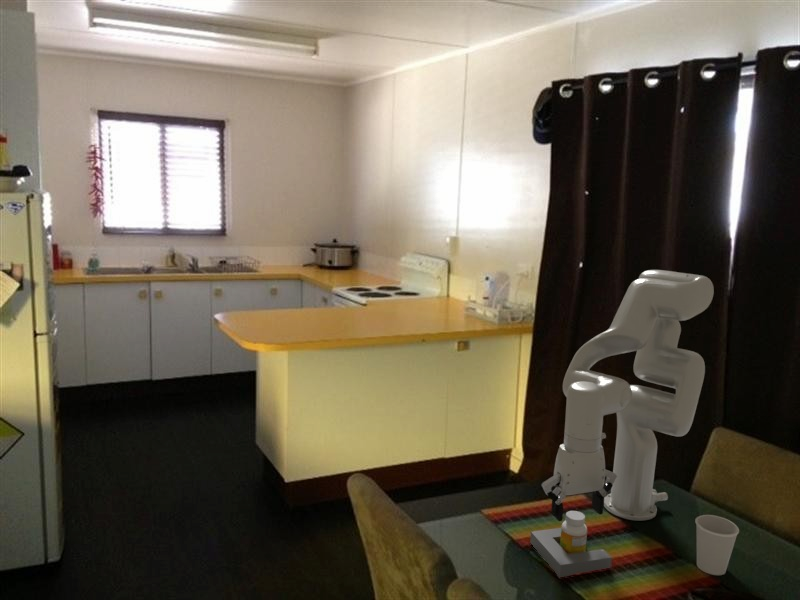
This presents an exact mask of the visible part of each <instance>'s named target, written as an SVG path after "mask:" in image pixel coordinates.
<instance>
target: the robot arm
mask: <svg viewBox="0 0 800 600" xmlns="http://www.w3.org/2000/svg"><path fill="white" fill-rule="evenodd" d="M714 289H715V288H714V284H713V282H712V281H711V279H710V278H708V277H707V276H705V275H702V274H700V275H699V274H693V273H686V272H677V271H674V270H673V271H672V270H663V269H648V270H644V271H643V272H641V273H640V274H639V276H638V278H637V279H635V280H633V281H632V282H631V283H630V285H629V286H628V288H627V290H626V292H625V294H624V296H623V298H622V301H621V303H620V305H619V306H618V308H617V311H616V313H615V315H614V316H613V320H612V322H611V324H610V325H609V328H608V329H607V330H605V331H603V332H601V333H599V334H597V335H595V336H594V337H593V338H591V339H589V340H587V341H586V342H585V343H584V344H583V345H582V346H581V347H579V349H578V350H577V351H576V352H575V354H574V356H573V357H572V360H571V361H570V363H569V366H568V368H567V370H566V372H565V375H564V378H563V382H562V392H563V395H564V396H565V397H566V401H565V402H566V405H565V418H564V420H565V422H564V437H563V443H561V444H560V445H559V448H558V449H557V454H556V458H555V462H554V468H553V476H551V477H549V478H548V479H546V480H545V481H542V483H541V487H542V489H543V491H544V493H545V495H547V497H548V498H549V499H551V509H550V511H551V514H552V516H553V518H555V519H556V520H557V521H558V522H562V521H563V518H564V515H563V513H564V504H563V503H562V502H563V500H565V498H566V497H567V496H572V495H578V494H586V493H591V492H592V498H591V499H592V500H591V508H592V509H593V510H594V511H595V512H596V513H598V515H602V514H603V513H604V512H603V511H604V508H605V509H606V511H608V512H609V513H611V514H612V515H614V516H616V517H619V518H621V519H625V520H630V521H635V522H637V521H638V522H639V521H640V522H641V521H649V520H652V519H653V518H655V517H656V515H657V511H658V508H657V506H656V505H655V504H656V503H657V502H662V501H668V499H669V495H668V493H667V492H664V491H663V492H657V490H656V489H655V488H653V487H654V480H655V470H656V463H657V454H658V441H657V438H656V435H655V433H654V431H655V432H659V433H662V434H665V435H668V436H674V437H683V436H686V435H687V434H688V432H689V431H690V429H691V427H692V426H693V425H692V424H693V422H694V418H695V414H696V410H697V408H698V407H697V406H698V404H699V398H700V395H701V391H702V387H703V383H704V379H705V374H706V365H705V361H704V357H702V356H701V354H699V352H695V351H692V350H688V349H683V348H678V344H679V340H680V335H681V332H682V327H681V323H680V322H682V321H687V320H690V319H692V318H694V317H696V316H698V315H700V314H701V313H703V312H704V311H705V310H707V309H708V308H709V307H710V304H711V303H712V301H713V297H714V294H715V292H714ZM631 352H636V354H635V358H634V361H633V373H634V375H635V377H637V378H638V379H640V380H642V381H645V382H648V383H651V384H656V385H660V386H663V387H668V388H671V389H674V390H675V393H671V392H668V391H663V390H661V389H656V388H653V387H649V386H643V385H639V384H630V383H629V382H628V381H626V380H625V379H622V378H620V377H619V376H614V375H609V374H605V373H602V372H599V371H598V372H597V371H595V370H590V369H591V368H592V367H593V366H594V365H595V364H596V363H597V362H599V361H601V360H603V359H606V358H608V357H611V356H617V355H621V354H626V353H631ZM612 414H616V440H615V450H614V459H613V468H612V471H610V470H608V469H606V459H605V451H604V447H603V445H602V442H603V440H605V439H607V435H606V432H603V425H604V416H608V415H612ZM553 487H555V488H554V489H553V490H552V488H553ZM608 492H610V493H608Z"/></svg>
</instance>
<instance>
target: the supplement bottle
mask: <svg viewBox="0 0 800 600" xmlns="http://www.w3.org/2000/svg"><path fill="white" fill-rule="evenodd" d="M585 523H586V515H585V514H584V513H583V512H581V511H579V510H578V511H577V510H569V511H566V513H565V520H564V521H563V522H562V524H561V527H560V528H561V539H560V546H561V547H562V548H563V550H564V551H565V552H566V553H567V554H571V553H578V552H585V551H586V548H587V539H588V538H587V536H588V527H587V525H586V524H585Z"/></svg>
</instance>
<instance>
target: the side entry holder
mask: <svg viewBox="0 0 800 600" xmlns="http://www.w3.org/2000/svg"><path fill="white" fill-rule="evenodd" d="M561 528H562V527H556V528H550V529H542V530H540V529H539V530H533V531H530V540H529V541H530V542H529V544H530V543H531V544H532V545H533V547H534V548H535V549H536V550H537V551H538V553H539V554H540V555H541V556H542V557H543V558H544V559H545V561H546V562H547V563H548V564H549V565H550V566H551V568H552V569H553V570H554V571H555V573H556V574H557V575H556V574H555V575H556V576H557V577H558V579H561V578H560V577H564V576H569V575H573V574H576V573H582V572H587V571H593V570H599V569H606V568H610V567H611V568H612V559H613V558H612V556H611V555H610V554H609V553H608V552H607V551H606V550H605V549H604V548H599V549H592V550H587V551H586V550H585V552H578V553H571V554H567V553H566V552H565V551H564V550H563V548H562V547H561V546H560V539H561ZM531 544H530V545H531ZM533 547H532V548H533ZM534 548H533V549H534ZM535 549H534V550H535ZM536 550H535V551H536ZM537 551H536V552H537ZM538 553H537V554H538ZM539 554H538V555H539ZM540 555H539V556H540ZM541 556H540V557H541ZM542 557H541V558H542ZM545 561H544V562H545ZM546 562H545V563H546ZM547 563H546V564H547ZM548 564H547V565H548ZM551 568H550V569H551ZM552 569H551V570H552ZM553 570H552V571H553ZM554 571H553V572H554Z"/></svg>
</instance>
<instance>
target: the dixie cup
mask: <svg viewBox="0 0 800 600" xmlns="http://www.w3.org/2000/svg"><path fill="white" fill-rule="evenodd" d="M695 524H696V532H695V533H696V566H697V567H698V569H699V570H701V571H702V572H704V573H706V574H709V575H711V576H722V575H725V574H726V572H727V568H728V567H729V561H730V559H731V555H732V552H733V549H734V546H735V543H736V539H737V536H738V534H739V533H740V529H739V527H738V526H737V524H736V523H734V522H733V521H731V520H729V519H727V518H725V517H722V516H719V515H713V514H703V515H699V516H696V518H695Z"/></svg>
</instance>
